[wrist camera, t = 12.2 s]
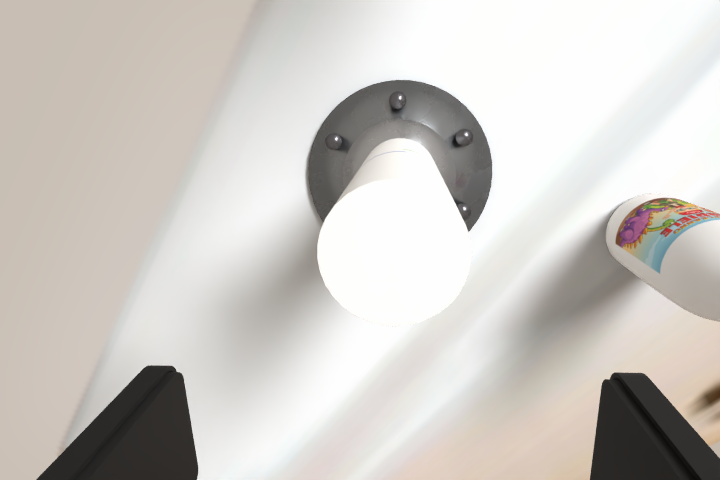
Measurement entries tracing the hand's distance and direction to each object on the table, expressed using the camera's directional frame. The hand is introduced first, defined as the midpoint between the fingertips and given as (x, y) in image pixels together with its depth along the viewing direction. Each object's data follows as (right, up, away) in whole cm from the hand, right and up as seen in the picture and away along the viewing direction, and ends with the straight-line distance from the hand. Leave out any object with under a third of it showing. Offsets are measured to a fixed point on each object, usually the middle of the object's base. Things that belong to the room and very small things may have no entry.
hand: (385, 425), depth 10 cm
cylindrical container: (+3, +10, +35) cm, 37 cm away
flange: (+3, +11, +36) cm, 38 cm away
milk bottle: (+27, +5, +36) cm, 46 cm away
